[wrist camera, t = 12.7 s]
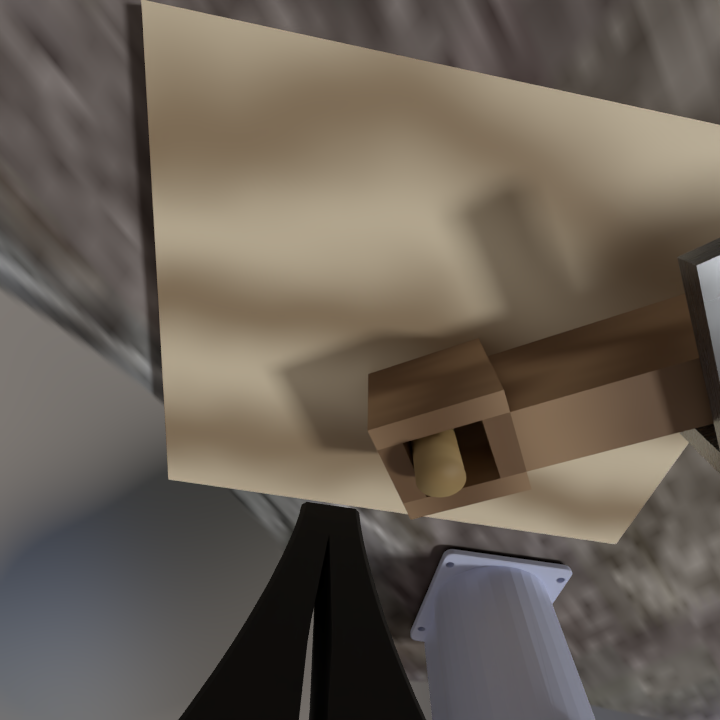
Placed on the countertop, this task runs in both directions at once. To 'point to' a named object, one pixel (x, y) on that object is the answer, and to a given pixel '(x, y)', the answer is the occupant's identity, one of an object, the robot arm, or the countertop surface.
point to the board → (394, 254)
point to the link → (540, 401)
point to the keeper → (705, 337)
